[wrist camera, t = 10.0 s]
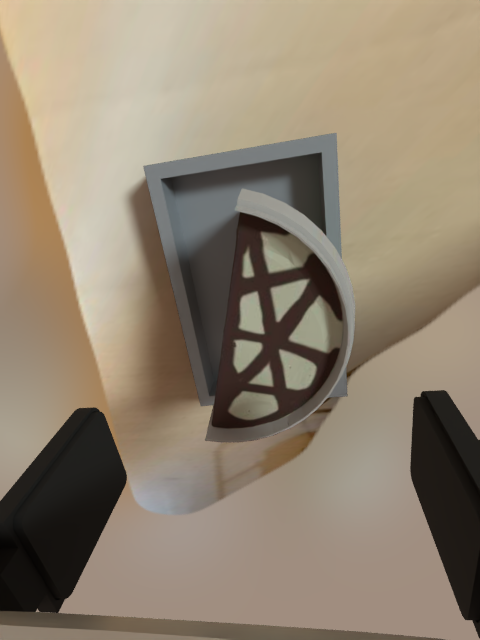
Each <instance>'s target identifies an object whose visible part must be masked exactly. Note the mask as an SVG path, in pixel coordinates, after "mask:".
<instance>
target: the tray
mask: <svg viewBox="0 0 480 640" xmlns="http://www.w3.org/2000/svg"><path fill="white" fill-rule="evenodd" d="M143 167H144V171H145V175H146V179H147V183H148V188H149V192H150V196H151V200H152V204H153V208H154V213H155V217H156V221H157V225H158V229H159V234H160V238H161V242H162V246H163V250H164V255H165V259H166V263H167V267H168V271H169V275H170V280H171V284H172V288H173V292H174V296H175V301H176V305H177V309H178V313H179V317H180V321H181V326H182V330H183V334H184V338H185V342H186V347H187V351H188V355H189V359H190V363H191V367H192V372H193V376H194V380H195V384H196V388H197V393H198V397H199V401H200V405H201V406H209V405H214V400H215V392H216V385H217V378H218V371H219V364H220V357H221V349H222V341H223V331H224V326H225V319H226V312H227V305H228V298H229V290H230V283H231V275H232V268H233V261H234V254H235V246H236V230H237V226H238V221H239V215H240V212H239V211H235V207H236V206H237V200H238V197H239V194H240V192H241V189H247V190H251V191H255V192H259V193H263V194H265V195H268V196H270V197H272V198H275V199H277V200H280V201H282V202H284V203H286V204H288V205H289V206H291V207H292V208H294V209H296V210H297V211H299V212H300V213H302V214H303V215H305V216H306V217H307V218H308V219H309V220H310V221H312V222H313V223H314V224H315V225H316V226H317V227H318V228H319V229H321V230H322V232H323V233H324V234H325V235H326V237H327V238H328V239H329V240H330V242H331V243H332V244H333V245H334V247H335V248H336V250H337V252H338V254H339V255H340V257H341V259H342V255H341V231H340V206H339V182H338V158H337V134H336V133H333V134H327V135H321V136H315V137H309V138H304V139H298V140H292V141H286V142H280V143H274V144H269V145H263V146H257V147H251V148H245V149H240V150H234V151H228V152H222V153H216V154H211V155H205V156H199V157H193V158H187V159H181V160H176V161H170V162H164V163H158V164H152V165H147V166H143ZM343 396H347V375H346V368H345V370H344V372H343V375H342V376H341V378H340V379H339V381H338V383H337V384H336V386H335V387H334V389H333V391H332V392H331V394H330V395H329V397H343Z"/></svg>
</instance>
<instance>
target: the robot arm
mask: <svg viewBox="0 0 480 640" xmlns="http://www.w3.org/2000/svg"><path fill="white" fill-rule="evenodd" d="M413 408H414V409H413V427H412V447H411V477H412V481H413V484H414V487H415V490H416V493H417V495H418V498H419V501H420V503H421V506H422V509H423V512H424V514H425V517H426V520H427V522H428V525H429V528H430V530H431V533H432V536H433V539H434V541H435V544H436V547H437V549H438V552H439V555H440V557H441V560H442V563H443V565H444V568H445V571H446V573H447V576H448V579H449V582H450V584H451V587H452V590H453V592H454V595H455V598H456V601H457V603H458V606H459V609H460V611H461V614H462V616H463V617H464V619H465V620H473V623H474V626H475V628H476V631H477V633H478V636H479V638H480V440H478V439H477V437H476V436H475V434H474V433H473V432H472V430H471V428H470V427H469V426H468V424H467V422H466V421H465V419H464V417H463V416H462V415H461V413H460V411H459V410H458V408H457V407H456V405H455V404H454V402H453V401H452V399H451V398H450V396H449V394H448V393H447V392H446V391H444V390H441V391H423V392H422V393H421V397H415V398H414V407H413ZM126 480H127V475H126V471H125V468H124V466H123V463H122V460H121V458H120V455H119V453H118V450H117V447H116V445H115V442H114V439H113V437H112V434H111V431H110V429H109V426H108V423H107V421H106V418H105V416H104V414H103V413H102V412H100V411H99V410H98V409H97V408H79V409H77V410H76V411H74V413H73V414H72V415H71V416H70V417H69V419H68V420H67V421H66V422H65V423H64V425H63V426H62V427H61V428H60V430H59V431H58V432H57V433H56V435H55V436H54V437H53V438H52V439H51V440H50V442H49V443H48V444H47V445H46V447H45V448H44V449H43V450H42V451H41V453H40V454H39V455H38V456H37V457H36V459H35V460H34V461H33V462H32V464H31V465H30V466H29V467H28V468H27V469H26V471H25V472H24V473H23V474H22V476H21V477H20V478H19V479H18V480H17V482H16V483H15V484H14V485H13V486H12V488H11V489H10V490H9V491H8V493H7V494H6V495H5V496H4V497H3V499H2V500H1V501H0V640H443V639H437V638H426V637H415V636H403V635H391V634H378V633H368V632H356V631H341V630H326V629H310V628H296V627H280V626H266V625H250V624H233V623H219V622H202V621H186V620H169V619H152V618H136V617H118V616H100V615H81V614H62V613H58V612H59V610H60V608H61V606H62V604H63V602H64V600H65V599H66V598H68V597H69V596H70V595H71V594H72V592H73V590H74V588H75V586H76V584H77V582H78V580H79V578H80V576H81V574H82V572H83V570H84V568H85V566H86V564H87V562H88V560H89V558H90V556H91V554H92V552H93V549H94V548H95V546H96V544H97V541H98V539H99V537H100V535H101V533H102V531H103V529H104V527H105V525H106V523H107V521H108V519H109V517H110V515H111V513H112V511H113V509H114V507H115V505H116V503H117V501H118V499H119V497H120V495H121V493H122V490H123V489H124V487H125V484H126ZM37 608H38V610H39V611H40V612H36V610H37ZM44 612H52V613H44Z"/></svg>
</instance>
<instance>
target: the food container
mask: <svg viewBox="0 0 480 640" xmlns="http://www.w3.org/2000/svg"><path fill="white" fill-rule="evenodd" d="M235 211H239V212H240V215H239V221H238V226H237V230H236V246H235V254H234V261H233V268H232V275H231V283H230V290H229V298H228V305H227V312H226V319H225V326H224V331H223V341H222V349H221V357H220V364H219V371H218V378H217V385H216V392H215V400H214V405H213V409H212V414H211V418H210V422H209V426H208V430H207V434H206V438H205V441H214V442H245V441H252V440H258V439H262V438H266V437H269V436H273V435H276V434H278V433H280V432H283V431H285V430H287V429H290V428H291V427H293V426H295V425H296V424H298V423H300V422H301V421H303V420H305V419H306V418H307V417H308V416H310V415H311V414H312V413H313V412H314V411H316V410H317V409H318V408H319V407H320V406H321V405H322V403H323V402H324V401H325V400H326V399H327V398H328V397H329V395H330V394H331V392H332V391H333V389H334V387H335V386H336V384H337V383H338V381H339V379H340V378H341V376H342V375H343V372H344V370H345V368H346V365H347V363H348V360H349V358H350V354H351V349H352V345H353V340H354V327H355V301H354V294H353V288H352V284H351V281H350V278H349V275H348V272H347V269H346V266H345V264H344V263H343V261H342V259H341V257H340V255H339V254H338V252H337V250H336V248H335V247H334V245H333V244H332V243H331V242H330V240H329V239H328V238H327V237H326V235H325V234H324V233H323V232H322V230H321V229H319V228H318V227H317V226H316V225H315V224H314V223H313V222H312V221H310V220H309V219H308V218H307V217H306V216H305V215H303V214H302V213H300V212H299V211H297V210H296V209H294V208H292V207H291V206H289V205H288V204H286V203H284V202H282V201H280V200H277V199H275V198H272V197H270V196H268V195H265V194H263V193H259V192H255V191H251V190H247V189H241V192H240V194H239V197H238V200H237V206H236V207H235Z"/></svg>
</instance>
